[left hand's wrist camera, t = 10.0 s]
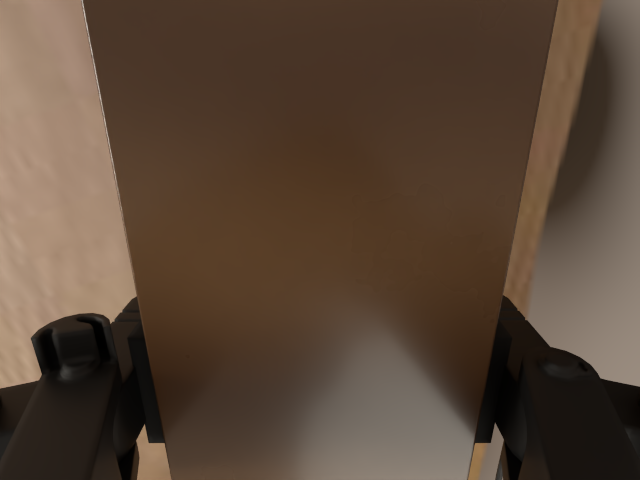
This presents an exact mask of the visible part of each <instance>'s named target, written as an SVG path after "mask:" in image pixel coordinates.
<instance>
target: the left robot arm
mask: <svg viewBox="0 0 640 480" xmlns="http://www.w3.org/2000/svg"><path fill="white" fill-rule="evenodd" d="M31 340H32V344H33V347H34V350H35V353H36V356H37V360H38V363H39V366H40V369H41V372H42V376H41V378H40V380H39V381H35V382H31V383H26V384H21V385H16V386H11V387H6V388H1V389H0V480H137V474H138V466H139V452H138V446H137V442H136V440H137V438H138V436H139V434H140V432H141V430H142V428H143V426H144V424H145V427H146V432H147V436H148V441H149V443H165V442H164V437H163V431H162V426H161V421H160V415H159V410H158V405H157V400H156V394H155V389H154V384H153V378H152V373H151V368H150V362H149V357H148V352H147V347H146V341H145V336H144V331H143V325H142V320H141V315H140V310H139V304H138V299H137V297H135V298H133V299H132V300H131V301H130V302H129V303H128V305H127V306H126V307H125V308H124V309H123V310H122V313H120V314H119V315H118V316H117V317H116V318H115V322H112V323H111V324H110V321H109V319H108V318H106V317H105V316H104V315H100V314H95V313H86V314H77V315H72V316H68V317H64V318H61V319H59V320H56V321H54V322H51V323H49V324H47V325H46V326H44V327H43V328H41V329H39V330H38V331H37V332H36V333H35V334H34V335H33V336H32V337H31ZM495 423H496V425H497V427H498V429H499V431H500V433H501V435H502V436H503V438H504V442H503V447H502V451H501V455H500V460H499V464H498V469H497V474H496V479H495V480H502V476H503V480H640V387H638V386H633V385H628V384H623V383H618V382H613V381H608V380H604V379H601V378H600V377H599V375H598V373H597V372H596V371H595V370H594V368H593V367H592V366H591V365H590V364H589V363H587V362H586V361H584V360H583V359H582V358H580V357H578V356H576V355H574V354H572V353H569V352H567V351H564V350H560V349H556V348H553V347H550V346H549V345H548V344H547V343H546V342H545V340H544V339H543V338H542V337H541V336H540V335H539V333H538V332H537V331H536V330H535V329H534V328H533V327H532V325H531V324H530V323H529V322H528V321H527V320H525V317H524V316H523V315H522V314H521V313H520V311H517V308H516V307H515V306H514V305H513V303H512V302H511V301H510V300H509V299H508V298H507V297H505V296H504V295H503V296H502V302H501V307H500V312H499V318H498V323H497V328H496V333H495V339H494V344H493V349H492V355H491V360H490V365H489V370H488V376H487V381H486V386H485V392H484V397H483V402H482V408H481V413H480V418H479V423H478V429H477V434H476V439H475V443H491V439H492V434H493V429H494V424H495Z"/></svg>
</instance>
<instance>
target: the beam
mask: <svg viewBox="0 0 640 480" xmlns="http://www.w3.org/2000/svg"><path fill="white" fill-rule="evenodd" d="M81 3H82V8H83V13H84V19H85V24H86V29H87V34H88V40H89V45H90V50H91V56H92V61H93V66H94V71H95V77H96V82H97V87H98V93H99V98H100V103H101V109H102V114H103V119H104V124H105V130H106V135H107V140H108V146H109V151H110V156H111V161H112V167H113V172H114V177H115V183H116V188H117V193H118V198H119V204H120V209H121V214H122V220H123V225H124V230H125V235H126V241H127V246H128V251H129V257H130V262H131V267H132V273H133V278H134V283H135V288H136V294H137V299H138V304H139V310H140V315H141V320H142V325H143V331H144V336H145V341H146V347H147V352H148V357H149V362H150V368H151V373H152V378H153V384H154V389H155V394H156V400H157V405H158V410H159V415H160V421H161V426H162V431H163V437H164V442H165V447H166V452H167V458H168V463H169V468H170V474H171V479H172V480H468V476H469V471H470V466H471V460H472V455H473V450H474V445H475V439H476V434H477V429H478V423H479V418H480V413H481V408H482V402H483V397H484V392H485V386H486V381H487V376H488V370H489V365H490V360H491V355H492V349H493V344H494V339H495V333H496V328H497V323H498V318H499V312H500V307H501V302H502V296H503V291H504V286H505V280H506V275H507V270H508V265H509V259H510V254H511V249H512V243H513V238H514V233H515V228H516V222H517V217H518V212H519V206H520V201H521V196H522V190H523V185H524V180H525V175H526V169H527V164H528V159H529V153H530V148H531V143H532V138H533V132H534V127H535V122H536V116H537V111H538V106H539V100H540V95H541V90H542V85H543V79H544V74H545V69H546V63H547V58H548V53H549V48H550V42H551V37H552V32H553V26H554V21H555V16H556V10H557V5H558V0H81Z"/></svg>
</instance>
